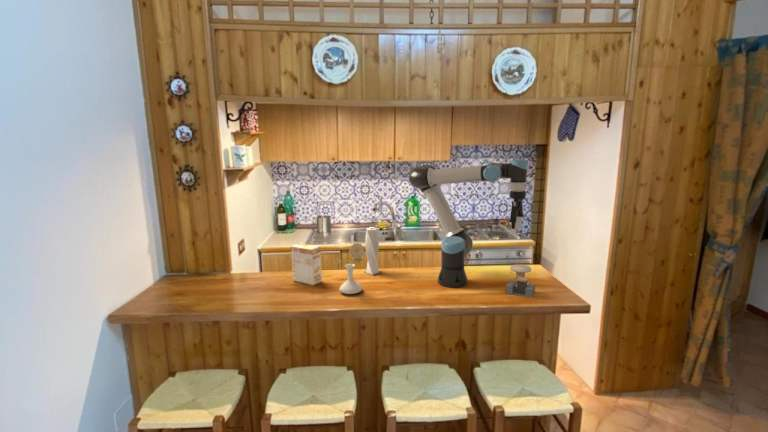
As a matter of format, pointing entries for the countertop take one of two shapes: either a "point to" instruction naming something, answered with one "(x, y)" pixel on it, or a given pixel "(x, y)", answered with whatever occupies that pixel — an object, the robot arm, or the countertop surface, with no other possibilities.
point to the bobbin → (520, 271)
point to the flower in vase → (350, 284)
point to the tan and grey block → (521, 285)
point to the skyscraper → (372, 250)
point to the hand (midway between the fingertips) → (515, 232)
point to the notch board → (513, 290)
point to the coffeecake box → (306, 263)
